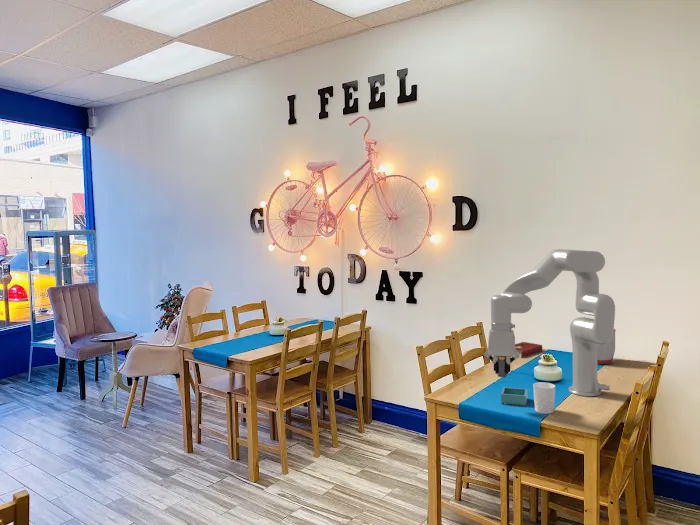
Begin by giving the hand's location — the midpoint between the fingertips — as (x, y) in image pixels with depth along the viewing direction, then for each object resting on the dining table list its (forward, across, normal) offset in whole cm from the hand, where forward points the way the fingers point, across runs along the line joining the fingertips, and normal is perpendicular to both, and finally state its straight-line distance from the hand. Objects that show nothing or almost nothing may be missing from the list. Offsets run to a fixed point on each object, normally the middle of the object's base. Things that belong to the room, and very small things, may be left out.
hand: (502, 372), depth 206 cm
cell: (+1, 0, 0) cm, 1 cm away
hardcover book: (+15, -2, -92) cm, 93 cm away
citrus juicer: (+15, -39, -81) cm, 91 cm away
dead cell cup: (+14, -4, -8) cm, 17 cm away
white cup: (+14, -15, 0) cm, 21 cm away
